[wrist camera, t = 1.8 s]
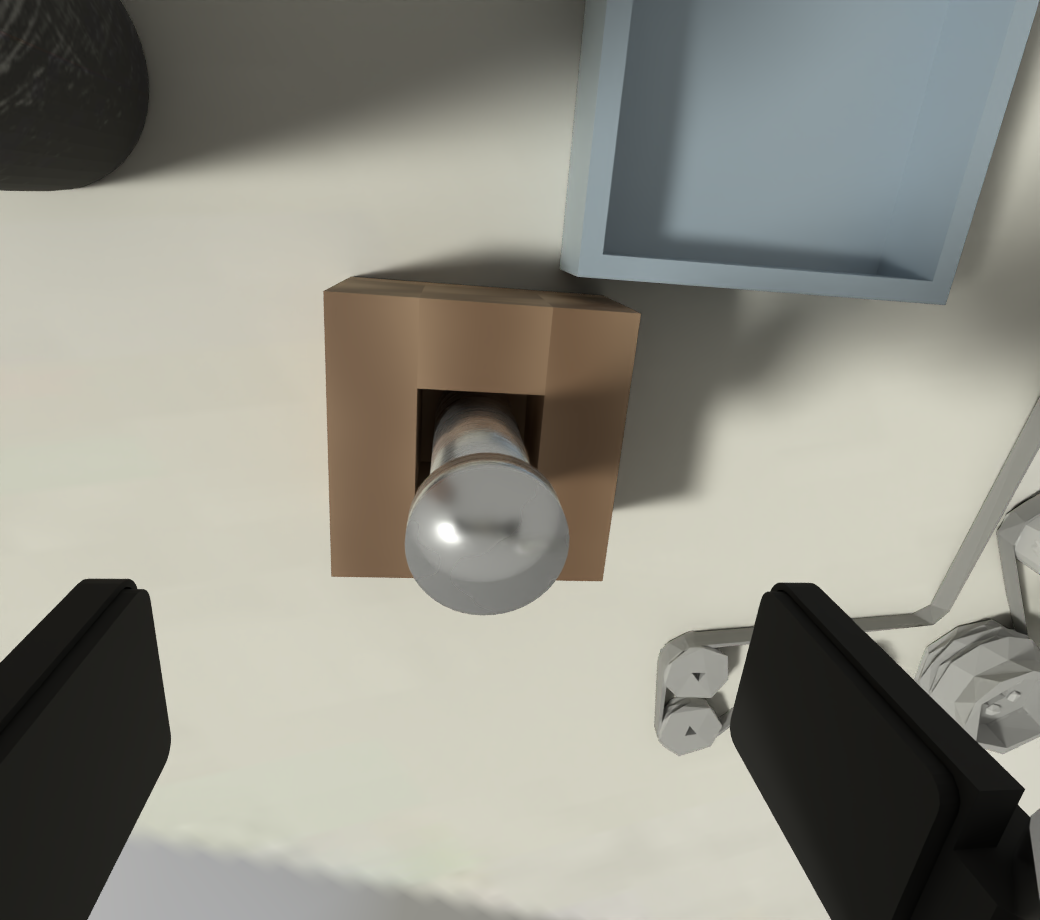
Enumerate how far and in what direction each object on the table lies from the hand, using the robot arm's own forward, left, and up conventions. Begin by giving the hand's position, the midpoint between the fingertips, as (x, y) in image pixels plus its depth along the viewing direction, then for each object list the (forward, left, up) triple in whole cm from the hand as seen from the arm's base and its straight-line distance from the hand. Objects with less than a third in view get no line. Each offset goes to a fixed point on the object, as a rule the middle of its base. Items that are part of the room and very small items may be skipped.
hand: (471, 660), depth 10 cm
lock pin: (0, 0, -14) cm, 14 cm away
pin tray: (-9, -11, -15) cm, 21 cm away
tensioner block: (-1, 0, -15) cm, 15 cm away
